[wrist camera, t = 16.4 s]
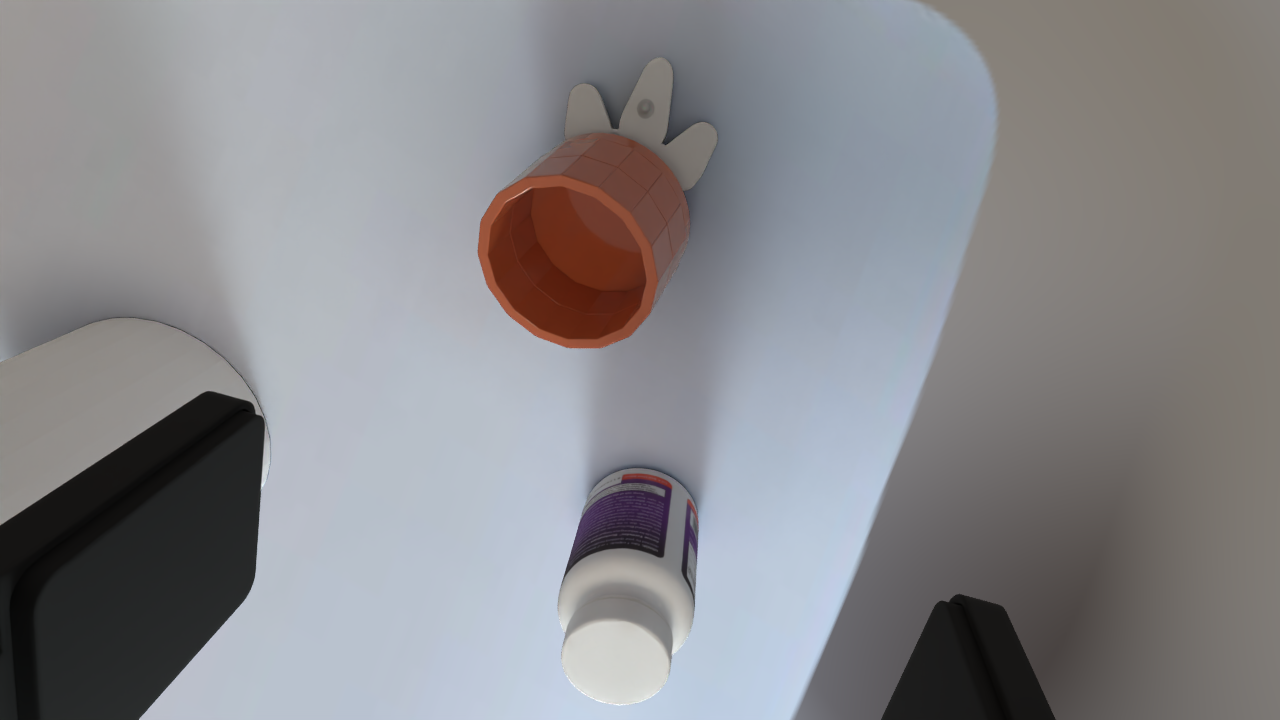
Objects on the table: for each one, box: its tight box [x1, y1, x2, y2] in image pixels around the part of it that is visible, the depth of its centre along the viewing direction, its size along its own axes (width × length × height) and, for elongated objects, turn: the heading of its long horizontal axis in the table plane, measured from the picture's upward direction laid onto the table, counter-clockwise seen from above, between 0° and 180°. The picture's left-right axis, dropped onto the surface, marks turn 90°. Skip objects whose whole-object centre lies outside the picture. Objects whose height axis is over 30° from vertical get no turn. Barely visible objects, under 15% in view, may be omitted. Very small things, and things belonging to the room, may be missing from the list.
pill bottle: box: [558, 468, 699, 705], centre depth 34 cm, size 5×5×10 cm
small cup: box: [478, 133, 690, 348], centre depth 29 cm, size 6×6×4 cm
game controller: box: [564, 58, 718, 191], centre depth 32 cm, size 6×12×3 cm, turn 2°
